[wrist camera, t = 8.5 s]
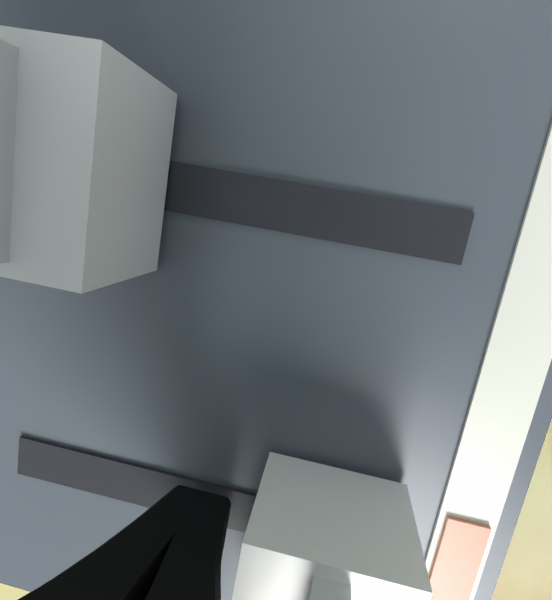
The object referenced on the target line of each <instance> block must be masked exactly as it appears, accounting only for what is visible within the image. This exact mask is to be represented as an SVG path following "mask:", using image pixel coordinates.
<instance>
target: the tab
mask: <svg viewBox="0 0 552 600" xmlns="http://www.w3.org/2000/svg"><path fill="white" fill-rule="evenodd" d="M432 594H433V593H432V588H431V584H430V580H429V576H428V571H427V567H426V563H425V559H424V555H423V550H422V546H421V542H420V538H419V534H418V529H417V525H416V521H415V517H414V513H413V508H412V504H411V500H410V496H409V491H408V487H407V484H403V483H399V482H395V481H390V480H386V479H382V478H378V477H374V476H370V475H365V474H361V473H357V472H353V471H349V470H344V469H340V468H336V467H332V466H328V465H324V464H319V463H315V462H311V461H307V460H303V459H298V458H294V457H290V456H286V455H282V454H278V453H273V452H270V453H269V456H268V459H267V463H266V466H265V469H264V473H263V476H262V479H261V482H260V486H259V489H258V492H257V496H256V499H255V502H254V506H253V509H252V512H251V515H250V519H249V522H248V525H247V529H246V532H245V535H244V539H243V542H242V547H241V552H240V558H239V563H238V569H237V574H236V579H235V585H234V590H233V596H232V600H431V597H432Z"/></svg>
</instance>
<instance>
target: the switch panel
mask: <svg viewBox="0 0 552 600" xmlns="http://www.w3.org/2000/svg"><path fill="white" fill-rule="evenodd" d="M0 25H2V26H9V27H16V28H23V29H30V30H36V31H43V32H50V33H57V34H64V35H71V36H78V37H85V38H92V39H99V40H103V41H104V42H106V43H107V44H108V45H110V46H111V47H113V48H114V49H115V50H117V51H118V52H120V53H121V54H122V55H124V56H125V57H127V58H128V59H129V60H131V61H132V62H133V63H135V64H136V65H138V66H139V67H140V68H142V69H143V70H145V71H146V72H147V73H149V74H150V75H152V76H153V77H154V78H156V79H157V80H159V81H160V82H161V83H163V84H164V85H166V86H167V87H168V88H170V89H171V90H172V91H174V92H175V93H177V103H176V111H175V120H174V128H173V137H172V145H171V154H170V163H169V171H168V180H167V188H166V197H165V205H164V214H163V223H162V231H161V240H160V248H159V257H158V265H157V270H156V271H153V272H150V273H147V274H143V275H140V276H137V277H134V278H131V279H127V280H124V281H121V282H118V283H115V284H111V285H108V286H105V287H102V288H99V289H95V290H92V291H89V292H86V293H83V294H80V293H76V292H71V291H66V290H61V289H57V288H52V287H47V286H42V285H38V284H33V283H28V282H23V281H19V280H14V279H9V278H4V277H0V583H2V584H6V585H9V586H13V587H16V588H19V589H23V590H26V591H30V592H32V591H33V590H35V589H37V588H38V587H40V586H41V585H43V584H45V583H46V582H48V581H49V580H51V579H53V578H54V577H56V576H57V575H59V574H60V573H62V572H63V571H65V570H66V569H68V568H69V567H71V566H72V565H74V564H75V563H76V562H78V561H79V560H81V559H82V558H84V557H85V556H87V555H88V554H90V553H91V552H93V551H94V550H95V549H97V548H98V547H100V546H101V545H102V544H104V543H105V542H106V541H108V540H109V539H110V538H112V537H113V536H114V535H116V534H117V533H118V532H120V531H121V530H122V529H124V528H125V527H126V526H128V525H129V524H130V523H132V522H133V521H134V520H135V519H137V518H138V517H139V516H140V515H142V514H143V513H144V512H145V511H147V510H148V509H149V508H150V507H151V506H153V505H154V504H155V503H156V502H157V501H159V500H160V499H161V498H162V497H163V496H165V495H166V494H167V493H168V492H169V491H170V490H172V489H173V488H174V487H176V486H178V485H183V486H187V487H191V488H194V489H198V490H202V491H206V492H210V493H214V494H218V495H222V496H226V497H228V499H229V500H230V502H231V508H230V514H229V520H228V526H227V532H226V537H225V543H224V549H223V555H222V560H221V600H232V596H233V590H234V585H235V579H236V574H237V569H238V563H239V558H240V552H241V547H242V542H243V539H244V535H245V532H246V529H247V525H248V522H249V519H250V515H251V512H252V509H253V506H254V502H255V499H256V496H257V492H258V489H259V486H260V482H261V479H262V476H263V473H264V469H265V466H266V463H267V459H268V456H269V453H270V452H273V453H278V454H282V455H286V456H290V457H294V458H298V459H303V460H307V461H311V462H315V463H319V464H324V465H328V466H332V467H336V468H340V469H344V470H349V471H353V472H357V473H361V474H365V475H370V476H374V477H378V478H382V479H386V480H390V481H395V482H399V483H403V484H407V487H408V491H409V496H410V500H411V504H412V508H413V513H414V517H415V521H416V525H417V529H418V534H419V538H420V542H421V546H422V550H423V555H424V559H425V563H426V567H427V571H428V576H429V580H430V584H431V588H432V593H433V594H432V597H431V600H491V598H492V595H493V592H494V589H495V586H496V583H497V580H498V577H499V574H500V571H501V568H502V565H503V562H504V559H505V556H506V553H507V550H508V547H509V544H510V541H511V538H512V535H513V532H514V529H515V526H516V523H517V520H518V517H519V514H520V511H521V508H522V505H523V502H524V499H525V496H526V493H527V490H528V487H529V484H530V481H531V478H532V475H533V472H534V469H535V466H536V463H537V460H538V457H539V454H540V451H541V448H542V445H543V442H544V440H545V437H546V434H547V431H548V428H549V425H550V422H551V419H552V0H0Z"/></svg>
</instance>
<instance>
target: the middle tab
mask: <svg viewBox="0 0 552 600" xmlns="http://www.w3.org/2000/svg"><path fill="white" fill-rule="evenodd" d="M176 103H177V93H175V92H174V91H172V90H171V89H170V88H168V87H167V86H166V85H164V84H163V83H161V82H160V81H159V80H157V79H156V78H154V77H153V76H152V75H150V74H149V73H147V72H146V71H145V70H143V69H142V68H140V67H139V66H138V65H136V64H135V63H133V62H132V61H131V60H129V59H128V58H127V57H125V56H124V55H122V54H121V53H120V52H118V51H117V50H115V49H114V48H113V47H111V46H110V45H108V44H107V43H106V42H104V41H103V40H99V39H92V38H85V37H78V36H71V35H64V34H57V33H50V32H43V31H36V30H30V29H23V28H16V27H9V26H2V25H0V277H4V278H9V279H14V280H19V281H23V282H28V283H33V284H38V285H42V286H47V287H52V288H57V289H61V290H66V291H71V292H76V293H80V294H83V293H86V292H89V291H92V290H95V289H99V288H102V287H105V286H108V285H111V284H115V283H118V282H121V281H124V280H127V279H131V278H134V277H137V276H140V275H143V274H147V273H150V272H153V271H156V270H157V265H158V257H159V248H160V240H161V231H162V223H163V214H164V205H165V197H166V188H167V180H168V171H169V163H170V154H171V145H172V137H173V128H174V120H175V111H176Z"/></svg>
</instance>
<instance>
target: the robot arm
mask: <svg viewBox="0 0 552 600" xmlns="http://www.w3.org/2000/svg"><path fill="white" fill-rule="evenodd" d="M230 508H231V502H230V500H229V499H228V497H226V496H222V495H218V494H214V493H210V492H206V491H202V490H198V489H194V488H191V487H187V486H183V485H178V486H176V487H174V488H173V489H172V490H170V491H169V492H168V493H167V494H166V495H165V496H163V497H162V498H161V499H160V500H159V501H157V502H156V503H155V504H154V505H153V506H151V507H150V508H149V509H148V510H147V511H145V512H144V513H143V514H142V515H140V516H139V517H138V518H137V519H135V520H134V521H133V522H132V523H130V524H129V525H128V526H126V527H125V528H124V529H122V530H121V531H120V532H118V533H117V534H116V535H114V536H113V537H112V538H110V539H109V540H108V541H106V542H105V543H104V544H102V545H101V546H100V547H98V548H97V549H95V550H94V551H93V552H91V553H90V554H88V555H87V556H85V557H84V558H82V559H81V560H79V561H78V562H76V563H75V564H74V565H72V566H71V567H69V568H68V569H66V570H65V571H63V572H62V573H60V574H59V575H57V576H56V577H54V578H53V579H51V580H49V581H48V582H46V583H45V584H43V585H41V586H40V587H38V588H37V589H35V590H33V591H32V592H30V593H28V594H27V595H25V596H23V597H22V598H20V599H18V600H221V560H222V555H223V549H224V543H225V537H226V532H227V526H228V520H229V514H230Z"/></svg>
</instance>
